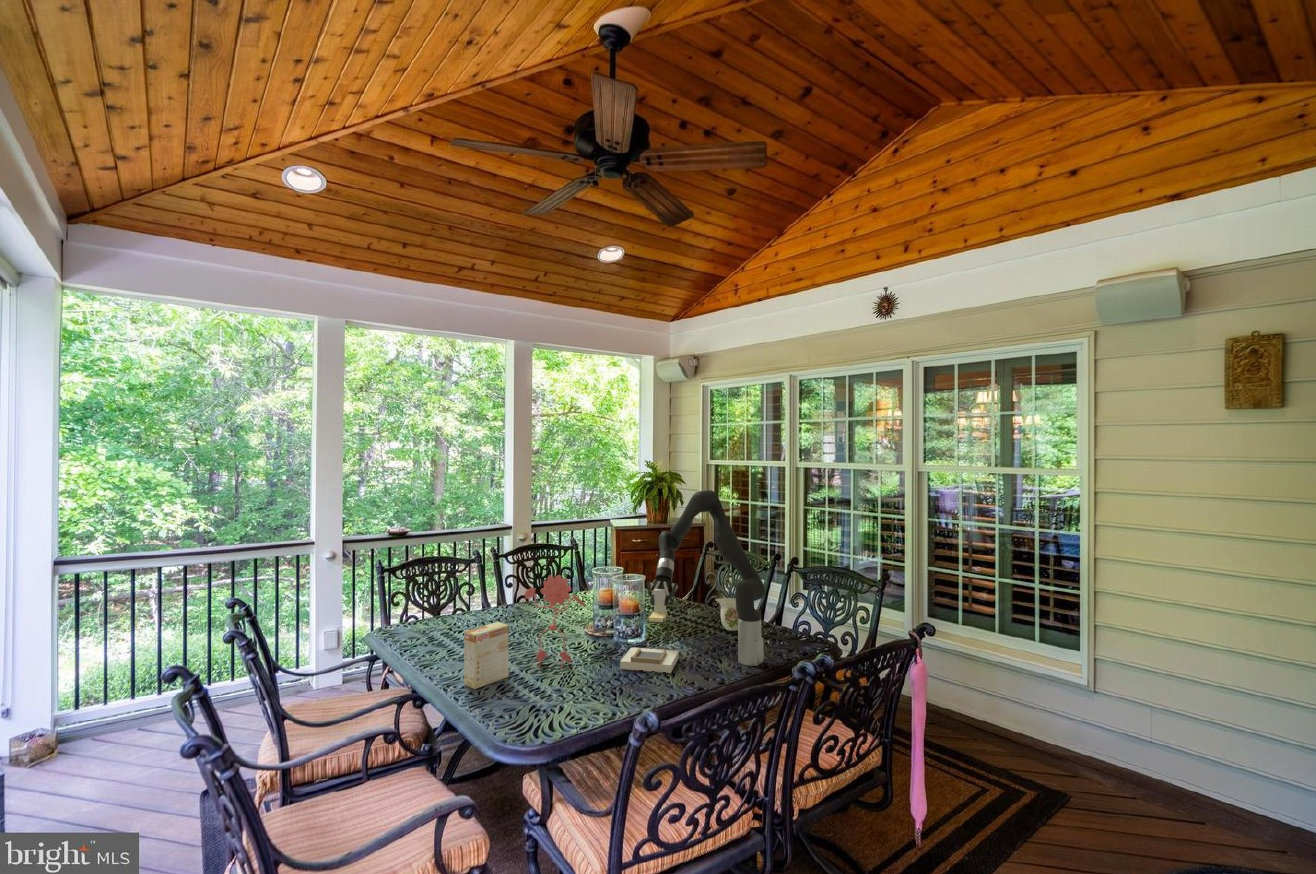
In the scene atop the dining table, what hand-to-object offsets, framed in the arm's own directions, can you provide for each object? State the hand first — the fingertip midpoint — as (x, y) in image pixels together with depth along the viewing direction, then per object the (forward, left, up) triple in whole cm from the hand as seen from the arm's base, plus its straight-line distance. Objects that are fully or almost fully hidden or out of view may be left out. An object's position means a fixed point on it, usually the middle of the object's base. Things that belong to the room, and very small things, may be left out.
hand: (659, 604), depth 249 cm
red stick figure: (+26, +36, -19) cm, 48 cm away
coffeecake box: (+34, +64, -19) cm, 75 cm away
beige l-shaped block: (-1, +2, -6) cm, 7 cm away
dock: (-6, +16, -19) cm, 25 cm away
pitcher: (-13, -43, -19) cm, 49 cm away
